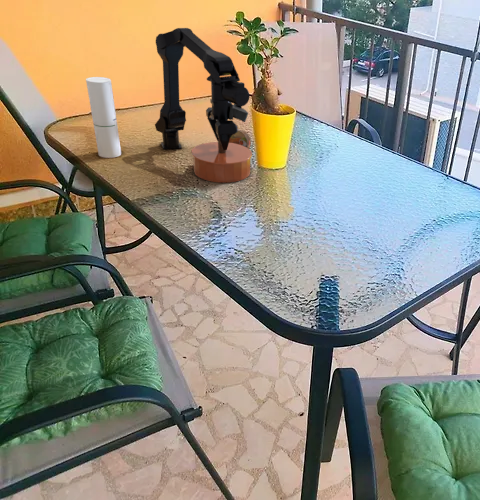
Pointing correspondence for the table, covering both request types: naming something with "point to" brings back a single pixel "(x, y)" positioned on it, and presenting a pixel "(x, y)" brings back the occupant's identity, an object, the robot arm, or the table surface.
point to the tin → (241, 138)
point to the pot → (221, 171)
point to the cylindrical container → (104, 116)
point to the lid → (221, 153)
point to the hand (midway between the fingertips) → (221, 145)
